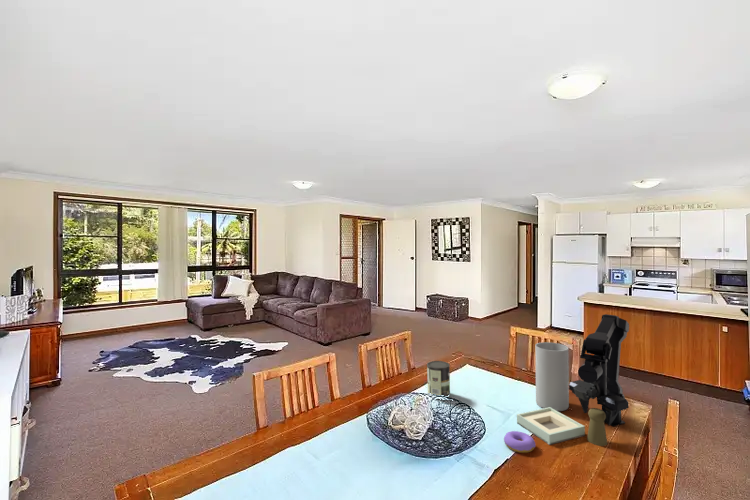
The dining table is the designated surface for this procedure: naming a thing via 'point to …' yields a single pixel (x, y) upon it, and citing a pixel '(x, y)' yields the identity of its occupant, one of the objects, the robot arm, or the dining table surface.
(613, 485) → the dining table surface
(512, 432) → the donut
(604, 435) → the pepper shaker
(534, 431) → the square tray
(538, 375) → the cylinder vase
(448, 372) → the coffee can
